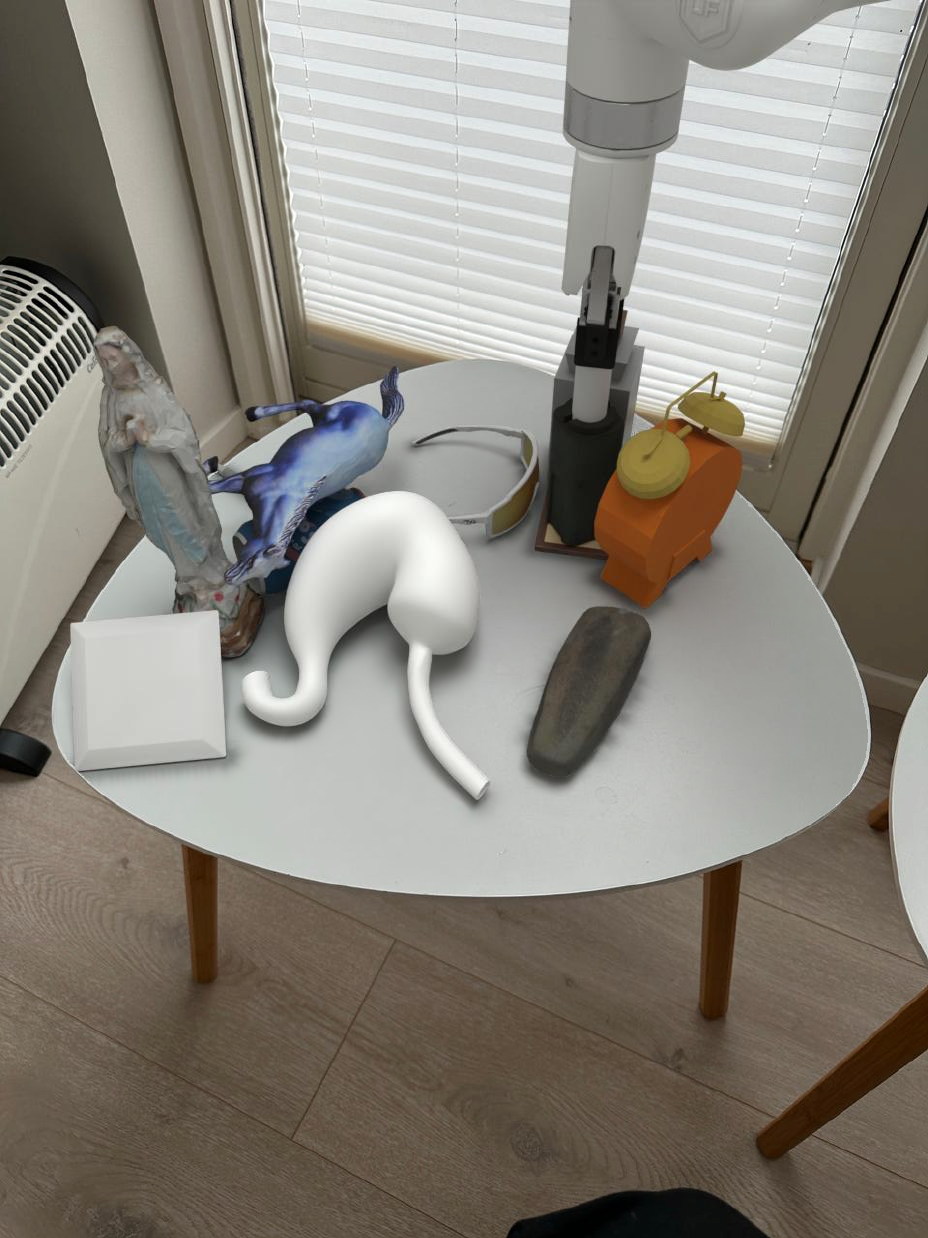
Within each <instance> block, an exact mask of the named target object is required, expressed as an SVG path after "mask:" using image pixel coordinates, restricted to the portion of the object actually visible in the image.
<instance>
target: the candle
mask: <svg viewBox="0 0 928 1238" xmlns="http://www.w3.org/2000/svg"><path fill="white" fill-rule="evenodd" d="M611 373H612V369H600V368H591V367H581V366H576V371H575V382H574V394H573V398H571V399H569V400H568V401H567V402H566V403H565V404H564V405H561V406H559V407H557V408H556V409H555V410H554V412H553V422H552V437H551V453H550V468H549V483H548V499H547V514H546V520H547V522H548V523H551V525H552V526H553V527H554V529H555V530H556V531H557V533H558V534H559V535H560V537H561V541H562V542H563V543H564V544H566V545H569V546H577V545H580V544H583V543H586V542H588V541H591V540H594V539H596V538H595V531H594V522H595V518H596V514H597V509H598V505H599V502H600V500H601V498H602V495H603V493H604V491H605V488H606V486H607V484H608V482H609V480H610V478H611V477H612V475H613V474H614V472H615V470H616V469H617V460H618V455H619V452H620V451H621V447H622V440H623V433H624V426H625V423H624V420H623V419H622V418H621V416H620V415H619V414H618V413H617V411H616V408H615V406H613V407H612V406H611V405H610V401H609V400H608V398H609V390H610V382H611Z"/></svg>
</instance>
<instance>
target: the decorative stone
mask: <svg viewBox="0 0 928 1238" xmlns="http://www.w3.org/2000/svg"><path fill="white" fill-rule="evenodd" d="M651 640H652V630H651V627H650V623H649V622H648V621H647V619H646V618H645V617H644V616H643V615H641V614H639V613H637V612H635V611H633V610H630V609H627V608H623V607H618V606H609V605H608V606H607V605H595V606H590V607H589V608H587V609H586V610H585V611H583V612H582V614H581V615H580V617H579V618H578V619H577V621H576V623H575V624H574V626H573V627H572V629H571V631H570V632H569V634H568V635H567V637H566V639H565V640H564V642H563V644H562V645H561V647H560V649H559V651H558V653H557V654H556V657H555V660H554V662H553V664H552V667H551V669H550V672H549V674H548V677H547V679H546V683H545V686H544V688H543V691H542V694H541V698H540V701H539V704H538V709H537V711H536V714H535V716H534V719H533V721H532V725H531V728H530V731H529V737H528V741H527V745H526V752H525V753H526V757H527V760H528V763H529V764H530V765H531V766H532V768H533V769H534V770H536V771H537V772H538V773H540V774H544V775H546V776H550V777H555V778H566V777H569V776H571V775H573V774H574V773H575V772H576V771H577V770H578V769H579V768H580V767H581V766H582V765H583V764H585V762H586V761H587V760H588V759H589V758H590V756H591V755H592V754H593V753H594V751H595V750H597V748H598V747H599V746H600V744H601V743H602V741H603V739H604V738H605V737H606V735H607V733H608V732H609V731H610V729H611V727H612V725H613V724H614V722H615V720H616V719H617V717H618V715H619V714H620V711H621V709H622V708H623V705H624V704H625V702H626V700H627V698H628V696H629V693H630V692H631V689H632V687H633V686H634V683H635V681H636V680H637V677H638V675H639V671H640V669H641V667H642V664H643V663H644V661H645V657H646V654H647V651H648V649H649V646H650V643H651Z"/></svg>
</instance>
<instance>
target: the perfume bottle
mask: <svg viewBox="0 0 928 1238" xmlns="http://www.w3.org/2000/svg"><path fill="white" fill-rule="evenodd" d="M628 312H629V311H628V310H627V309H623V315H622V323H621V331H620V338H619V340H618V345H617V353H616V361H615V367H614V368H613V369H612V373H611V382H610V390H609V398H608V400H609V401H610V405H611V406H612V407H613V406H615V408H616V411H617V413H618V414H619V415H620V416H621V418H622V419H623V420H624V423H625V426H624V433H623V440H622V447H623V445H624V444H625V443H626V442H627V441H628V440H629V439H630V438H631V437H632V432H633V425H634V420H635V419H634V418H635V413H636V407H637V400H638V393H639V387H640V380H641V374H642V369H643V362H644V355H645V349H646V346H645V345H638V344H635V342H636V339H637V336H638V334H639V330H640V327H636V326H630V325H626V321H627V317H628ZM576 329H577V325H576V326H575V327H574V331H573V334H571V337H570V338H569V341H568V343H567V346H566V349H565V350H564V353H563V356H562V359H561V361H560V363H559V365H558V367H557V370H556V373H555V375H554V377H553V388H552V401H551V402H552V404H551V418H550V431H549V432H550V434H549V446H548V462H547V473H546V475H547V476H546V492H547V491H548V483H549V468H550V453H551V437H552V422H553V412H554V410H555V409H556V408H557V407H559V406H561V405H564V404H565V403H566V402H567V401H568V400H569V399H571V398H573V394H574V382H575V371H576V365H575V364H574V353H575V341H576ZM622 447H621V449H622Z"/></svg>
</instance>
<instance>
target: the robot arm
mask: <svg viewBox="0 0 928 1238" xmlns="http://www.w3.org/2000/svg"><path fill="white" fill-rule="evenodd" d="M890 1H891V0H570V1H569V15H568V16H569V17H568V31H567V32H568V33H567V34H568V35H567V48H566V50H567V52H566V64H565V65H566V67H565V82H564V84H565V85H564V101H563V116H562V117H563V118H562V135H563V138H564V139H565V141H566V142H567V143H568V144H569V145H570V146H572V147H574V148H575V154H574V158H573V159H574V160H573V166H572V167H573V168H572V176H571V183H570V193H569V202H568V215H567V226H566V227H567V228H566V238H565V250H564V258H563V259H564V261H563V270H562V279H561V280H562V281H561V291H562V292H563V294H564V295H565V296H568V297H569V296H570V295H573V296H577V295H578V294H579V292H580V291H581V300H580V311H579V312H580V313H579V316H578V317H577V320H576V326H577V329H576V341H575V353H574V364H575V365H576V366H581V367H591V368H600V369H613V368H614V367H615V361H616V353H617V345H618V340H619V338H620V331H621V323H622V315H623V310H624V308H625V307H624V306H625V298H627V297H628V296H629V295H630V290H631V286H632V284H633V283H632V282H633V279H634V275H635V271H636V266H637V263H638V258H639V254H640V251H641V246H642V241H643V237H644V231H645V225H646V221H647V218H648V217H647V216H648V211H649V205H650V199H651V193H652V186H653V181H654V173H655V167H656V166H655V165H656V160H657V155H658V154H659V153H662V152H664V151H666V150H668V149H670V148H671V147H672V146H673V145H675V143H676V142H677V139H678V137H679V131H680V124H681V118H682V111H683V104H684V97H685V91H686V86H687V85H686V84H687V79H688V72H689V66H690V61H691V62H693V63H695V64H697V65H700V66H702V67H705V68H707V69H711V70H716V71H722V72H731V71H739V70H743V69H746V68H749V67H752V66H754V65H756V64H758V63H760V62H761V61H763V60H765V59H766V58H769V57H770V56H771V55H773V54H774V53H776V52H777V51H779V50H780V49H781V48H783V47H785V46H786V45H787V44H789V43H790V42H792V41H793V40H794V39H796V38H797V37H798V36H800V35H801V34H803V33H805V32H806V31H807V30H810V29H811V28H812V27H814V26H815V25H817V24H819V22H821V21H822V20H824V19H826V18H828V17H829V16H831V15H832V14H835V13H838V12H841V11H845V10H848V9H854V8H858V7H862V6H867V5H873V4H878V3H883V2H890Z"/></svg>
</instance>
